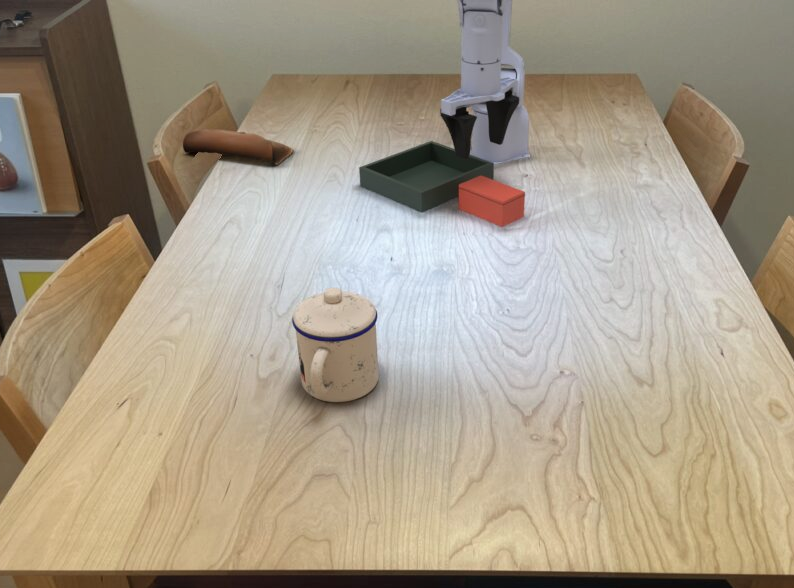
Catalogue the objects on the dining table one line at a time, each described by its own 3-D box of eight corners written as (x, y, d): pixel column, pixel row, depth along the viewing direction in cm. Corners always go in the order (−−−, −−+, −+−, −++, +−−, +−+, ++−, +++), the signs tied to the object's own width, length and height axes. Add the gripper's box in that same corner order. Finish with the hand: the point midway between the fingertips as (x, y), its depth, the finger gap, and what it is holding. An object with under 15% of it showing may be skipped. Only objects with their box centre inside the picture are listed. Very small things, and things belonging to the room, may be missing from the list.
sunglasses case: (296, 147, 156) (284, 122, 151) (283, 179, 154) (270, 155, 148) (208, 136, 161) (192, 111, 155) (193, 167, 158) (177, 143, 153)
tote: (431, 161, 153) (431, 140, 151) (493, 184, 144) (494, 163, 142) (360, 188, 143) (358, 167, 141) (422, 215, 135) (421, 192, 133)
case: (480, 201, 139) (480, 175, 136) (524, 219, 134) (525, 191, 131) (458, 211, 136) (458, 184, 133) (502, 229, 131) (503, 201, 128)
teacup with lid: (315, 353, 103) (305, 266, 97) (389, 362, 102) (385, 274, 95) (278, 416, 94) (265, 323, 87) (360, 426, 92) (353, 333, 86)
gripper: (467, 75, 119) (466, 170, 126) (535, 53, 127) (530, 143, 135) (430, 65, 123) (431, 157, 130) (498, 44, 131) (496, 132, 139)
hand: (479, 149), depth 133 cm, fingers open, 7 cm apart
